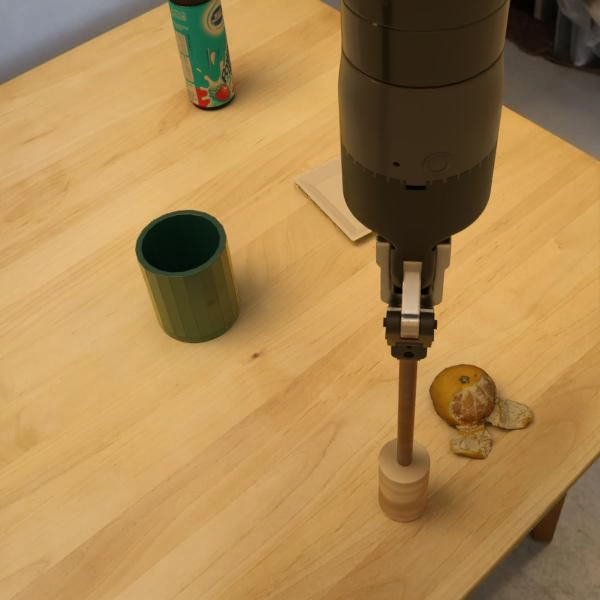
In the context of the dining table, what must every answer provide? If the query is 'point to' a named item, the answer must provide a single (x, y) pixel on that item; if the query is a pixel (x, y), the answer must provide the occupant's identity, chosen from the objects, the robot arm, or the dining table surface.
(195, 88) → the beverage can
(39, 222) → the dining table surface
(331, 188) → the dessert
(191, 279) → the cup
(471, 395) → the fruit
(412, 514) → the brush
